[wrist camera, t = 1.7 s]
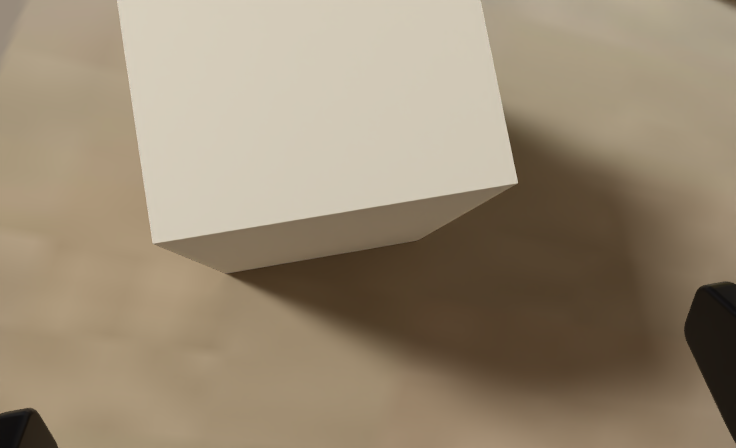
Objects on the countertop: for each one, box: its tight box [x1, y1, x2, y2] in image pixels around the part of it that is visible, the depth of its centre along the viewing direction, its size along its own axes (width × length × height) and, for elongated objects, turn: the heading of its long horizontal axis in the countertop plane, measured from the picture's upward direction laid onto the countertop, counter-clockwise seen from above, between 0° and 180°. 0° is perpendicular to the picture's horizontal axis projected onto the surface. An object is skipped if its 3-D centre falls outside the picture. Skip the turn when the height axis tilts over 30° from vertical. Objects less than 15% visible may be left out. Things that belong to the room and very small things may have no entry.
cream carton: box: [117, 0, 518, 274], centre depth 16 cm, size 6×6×10 cm
